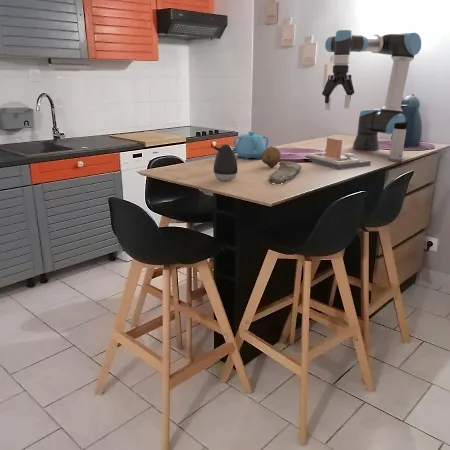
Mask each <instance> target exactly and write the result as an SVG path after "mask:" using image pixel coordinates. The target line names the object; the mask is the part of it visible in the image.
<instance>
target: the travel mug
mask: <svg viewBox="0 0 450 450" xmlns="http://www.w3.org/2000/svg"><path fill="white" fill-rule="evenodd" d="M408 124H409V122H408V121H405V122H400V123H395V124H394V130H393V134H392V136H391V143H390V151H389V157H388V160H389V161H391V162H402V161H403V160H402V159H403V154H404V147H405V141H406V136H407V135H406V133H407V126H408Z"/></svg>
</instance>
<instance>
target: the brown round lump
mask: <svg viewBox="0 0 450 450" xmlns="http://www.w3.org/2000/svg"><path fill="white" fill-rule="evenodd" d="M267 147H268V146H267ZM281 155H282V154H281V151H280V150H279V149H278V148H277V147H275V146H269V147H268V148H267V149H265V150H264V152H263V154H262V157H261V161H262V163H264V164H265V165H267V166H268V167H269V168H274V167H276V166H277V165H279V163H280V160H281Z"/></svg>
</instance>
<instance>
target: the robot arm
mask: <svg viewBox="0 0 450 450" xmlns="http://www.w3.org/2000/svg"><path fill="white" fill-rule="evenodd" d="M324 47H325V48H324V49H325V50H326V51H327V52H329V53H334V54H333V62H332V63H333V66H332V73H333V75H332V74H329V75H328V76H327V80H326V83H325V86H324V88H323V90H322V93H321V94H322V96H323V97H324V103H325V104H324V105H325V106H324V110H325V111H331V101H332V96H331V94H332V93H333V92H334V90H335V88H337V87H336V86H338V85H341V86H342V88H343V90H344V91H345V93H346V94H345V95H344V106H343V107H344V109H350V103H351V96H353V95H354V94H355V88H354V85H353V80H352V74H349V70H350V69H349V67H350V66H349V64H350V58H351V57H350V56H351V53H352V52H354V53H361V52H371V53H372V54H380V55H386V56H387V55H389V56H391V57H390V58H391V60H392V61H393V62H392V66H391V71H390V76H389V81H388V87H387V92H386V97H385V103H384V105H383V106H382V107H381V108H374V109H373V108H372V109H362V110H361V111H359V116H358V117H359V118H358V123H357V124H358V125H357V131H356V132H357V134H356V136H355V139H354V141H353V143H352V148H353V149H355V150H362V151H377V150H379V148H380V144H379V139H378V138H379V137H378V133H381V134H386V135H393V130H394V124H395V123H400V122H406V118H405V115H404V114H403V109H402V108H401V106H402V102H403V98H404V97H403V96H404V92H405V88H406V83H407V77H408V73H409V68H410V63H411V62H412V61H413V60H414V59H415V58H414V57H415V56H417V55H418V54H419V53H420V51H421V49H422V39H421V35H420V33H419V32H416V31H409V30H408V31H394V32H393V31H392V32H387V33H382V34H374V35H372V36H367V35H366V36H365V35H361V34H360V35H359V34H358V35H357V34H353V31H352V30H350V29H340V30H337V31H336V32H335V35H334V36H329V37H327V39H326V41H325V43H324Z"/></svg>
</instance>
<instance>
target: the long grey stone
mask: <svg viewBox="0 0 450 450" xmlns="http://www.w3.org/2000/svg"><path fill="white" fill-rule="evenodd" d="M278 165H279V166H278V168H277V169H276V170H275V171H274V172H273V173H271V174H270V175H269V178H268V182H269V183H270V182H271V183H275V184H281V183H283V184H285V182H286V181H287V182H289V181H291V180H292V179H293V178H295V177H296V174H297V175H299V173H300V172H301V169H302V165H301V163H298V162H290V161H288V160H286V161H285V160H281V161H279V162H278ZM294 176H295V177H294ZM288 180H289V181H288ZM287 182H286V183H287ZM271 183H270V184H271Z"/></svg>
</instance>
